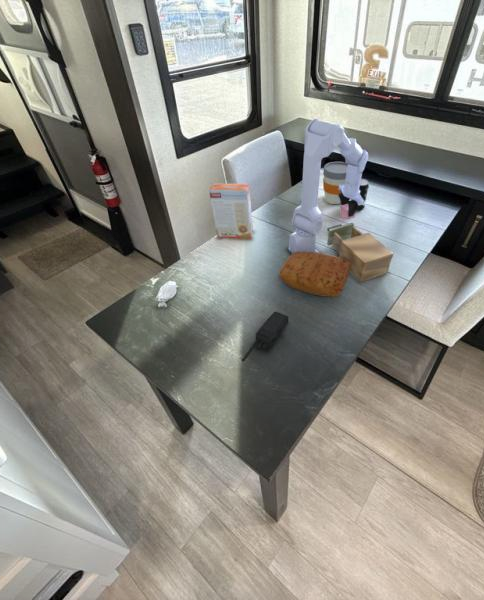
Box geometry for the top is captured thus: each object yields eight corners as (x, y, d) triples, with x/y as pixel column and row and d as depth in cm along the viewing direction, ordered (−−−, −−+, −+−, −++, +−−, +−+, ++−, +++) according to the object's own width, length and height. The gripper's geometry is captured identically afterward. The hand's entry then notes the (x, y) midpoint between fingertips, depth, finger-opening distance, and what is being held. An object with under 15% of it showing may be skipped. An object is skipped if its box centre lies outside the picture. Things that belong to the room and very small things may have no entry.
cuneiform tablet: (352, 276, 109) (356, 258, 103) (336, 309, 99) (339, 291, 93) (294, 259, 116) (295, 242, 110) (273, 288, 106) (273, 270, 100)
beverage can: (360, 212, 138) (365, 186, 129) (346, 208, 141) (350, 182, 132) (366, 206, 141) (372, 180, 133) (353, 202, 144) (358, 177, 136)
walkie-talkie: (294, 321, 93) (261, 370, 79) (281, 326, 97) (247, 373, 84) (282, 305, 91) (246, 352, 78) (269, 311, 96) (232, 357, 82)
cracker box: (253, 231, 130) (249, 182, 115) (251, 239, 126) (247, 190, 111) (220, 230, 131) (212, 182, 116) (217, 238, 127) (208, 189, 112)
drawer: (321, 238, 124) (322, 223, 119) (343, 231, 126) (346, 217, 121) (344, 262, 113) (347, 247, 108) (368, 254, 116) (372, 239, 111)
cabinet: (338, 260, 116) (341, 240, 109) (364, 251, 119) (368, 232, 112) (359, 282, 107) (364, 263, 101) (387, 272, 110) (393, 253, 104)
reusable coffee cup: (316, 195, 150) (319, 163, 139) (340, 190, 152) (344, 159, 141) (327, 208, 141) (331, 175, 131) (352, 203, 144) (358, 170, 133)
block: (345, 219, 129) (347, 210, 126) (339, 214, 132) (341, 205, 129) (354, 217, 130) (356, 207, 127) (348, 212, 133) (350, 203, 130)
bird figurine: (175, 309, 102) (180, 283, 107) (164, 299, 96) (170, 272, 101) (161, 310, 103) (167, 285, 108) (150, 300, 97) (157, 274, 102)
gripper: (373, 187, 116) (366, 219, 126) (350, 172, 126) (345, 203, 136) (357, 191, 115) (351, 223, 124) (335, 175, 124) (331, 206, 134)
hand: (347, 213), depth 130 cm, fingers closed on block, 4 cm apart
